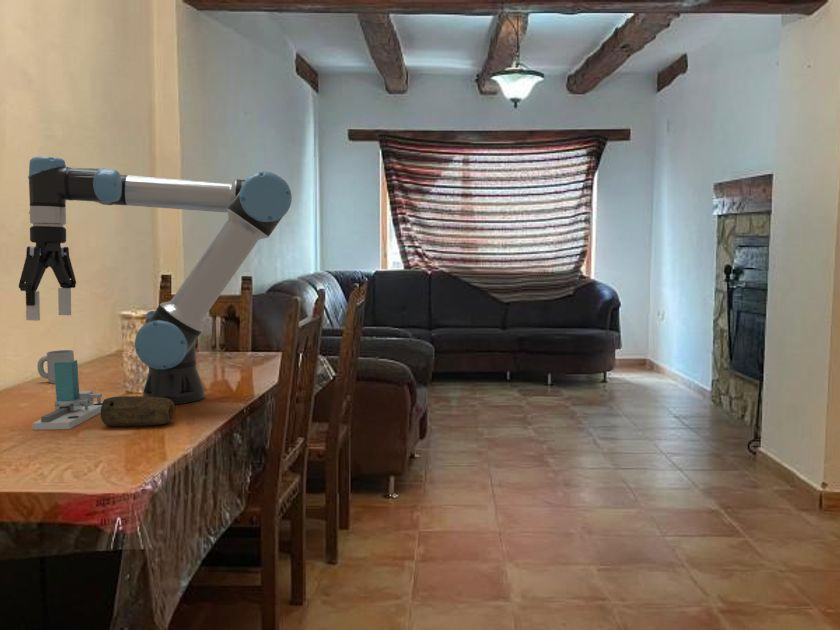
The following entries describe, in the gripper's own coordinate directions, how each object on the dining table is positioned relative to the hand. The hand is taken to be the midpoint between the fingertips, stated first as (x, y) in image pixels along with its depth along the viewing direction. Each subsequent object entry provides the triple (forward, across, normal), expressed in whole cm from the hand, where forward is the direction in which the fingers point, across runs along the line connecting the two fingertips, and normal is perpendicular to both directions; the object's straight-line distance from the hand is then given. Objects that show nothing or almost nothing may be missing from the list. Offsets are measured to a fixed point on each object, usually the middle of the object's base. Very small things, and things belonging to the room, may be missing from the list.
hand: (49, 317), depth 179 cm
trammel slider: (+21, +1, +6) cm, 22 cm away
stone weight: (+23, +8, +25) cm, 35 cm away
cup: (+24, -46, -24) cm, 57 cm away
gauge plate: (+23, +2, +6) cm, 24 cm away
